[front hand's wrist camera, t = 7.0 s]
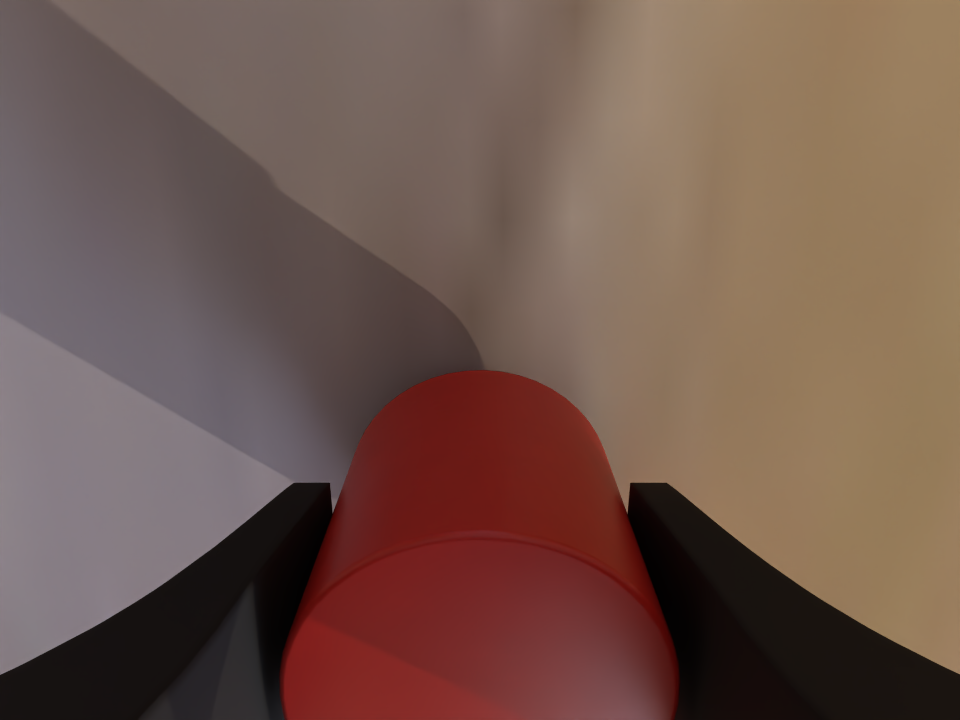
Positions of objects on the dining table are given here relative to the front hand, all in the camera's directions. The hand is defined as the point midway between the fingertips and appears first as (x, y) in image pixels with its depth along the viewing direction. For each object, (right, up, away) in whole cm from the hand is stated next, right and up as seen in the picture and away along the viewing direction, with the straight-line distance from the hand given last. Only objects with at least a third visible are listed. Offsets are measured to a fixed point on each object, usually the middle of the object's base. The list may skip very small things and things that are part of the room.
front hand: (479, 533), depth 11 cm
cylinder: (0, +1, +2) cm, 2 cm away
